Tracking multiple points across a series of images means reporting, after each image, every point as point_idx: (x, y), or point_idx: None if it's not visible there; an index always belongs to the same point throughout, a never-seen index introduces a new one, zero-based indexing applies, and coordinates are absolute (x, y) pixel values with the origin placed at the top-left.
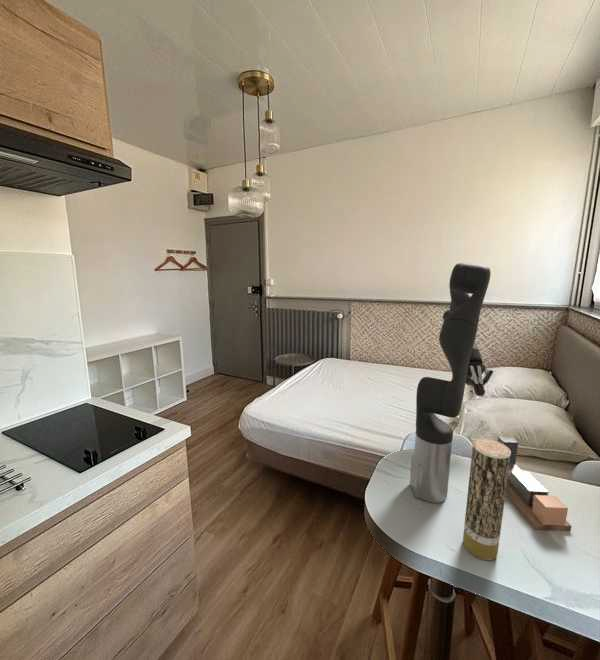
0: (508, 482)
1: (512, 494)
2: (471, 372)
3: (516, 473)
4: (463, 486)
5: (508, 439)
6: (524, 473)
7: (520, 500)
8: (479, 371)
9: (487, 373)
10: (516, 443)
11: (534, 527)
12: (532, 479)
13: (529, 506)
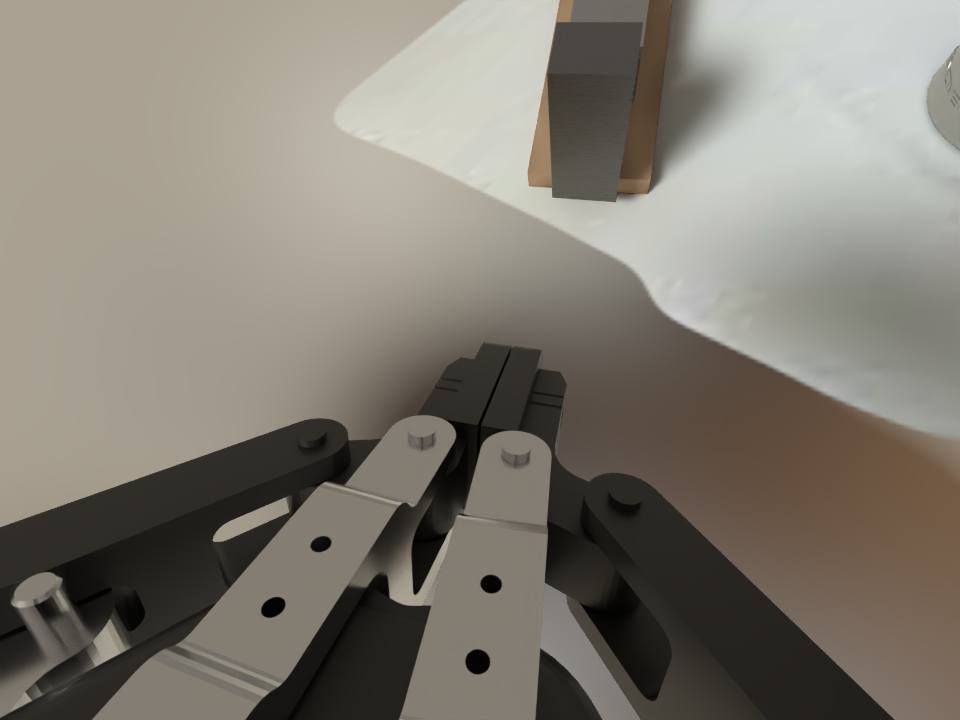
0: None
1: (658, 57)
2: (539, 665)
3: None
4: (819, 135)
5: (591, 48)
6: None
7: (650, 31)
8: (266, 622)
9: (75, 601)
10: (566, 26)
11: None
12: (588, 2)
13: None
